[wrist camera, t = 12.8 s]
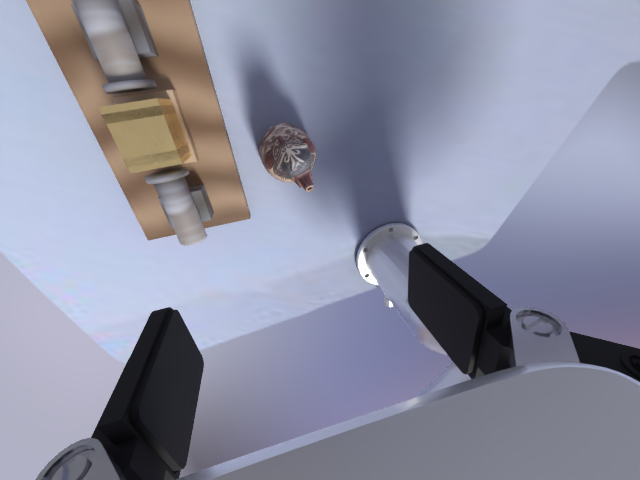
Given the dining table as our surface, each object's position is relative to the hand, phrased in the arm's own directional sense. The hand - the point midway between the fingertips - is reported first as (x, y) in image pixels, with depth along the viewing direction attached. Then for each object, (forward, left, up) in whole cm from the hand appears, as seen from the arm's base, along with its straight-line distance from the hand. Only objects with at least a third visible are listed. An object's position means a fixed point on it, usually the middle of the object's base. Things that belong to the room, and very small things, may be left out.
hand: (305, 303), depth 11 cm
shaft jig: (+6, +11, -30) cm, 33 cm away
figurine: (+1, -3, -31) cm, 31 cm away
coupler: (+6, +11, -27) cm, 30 cm away
